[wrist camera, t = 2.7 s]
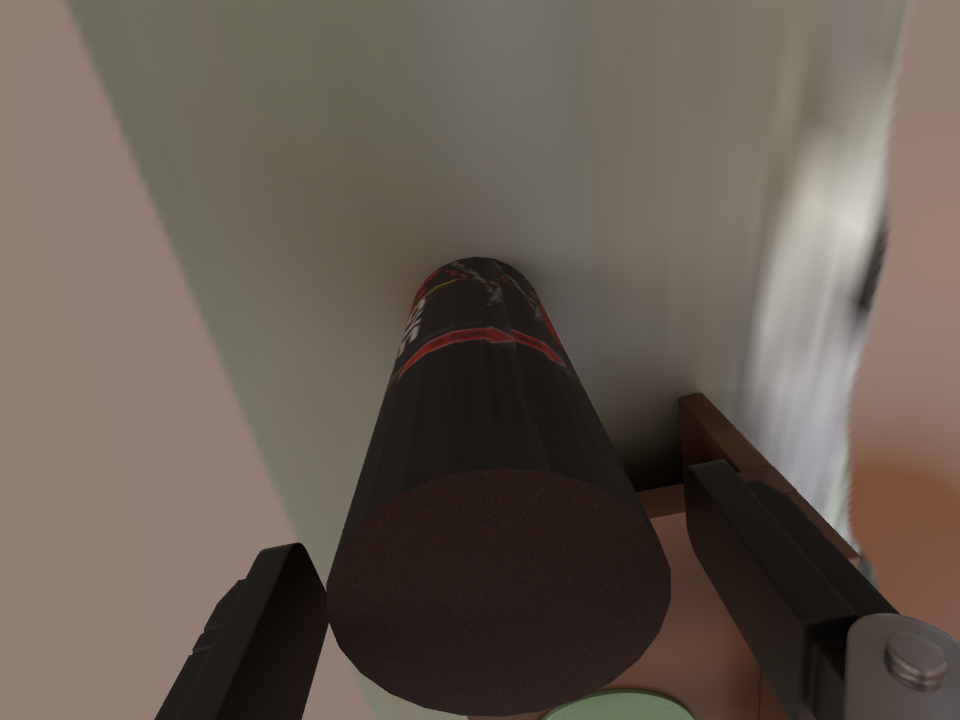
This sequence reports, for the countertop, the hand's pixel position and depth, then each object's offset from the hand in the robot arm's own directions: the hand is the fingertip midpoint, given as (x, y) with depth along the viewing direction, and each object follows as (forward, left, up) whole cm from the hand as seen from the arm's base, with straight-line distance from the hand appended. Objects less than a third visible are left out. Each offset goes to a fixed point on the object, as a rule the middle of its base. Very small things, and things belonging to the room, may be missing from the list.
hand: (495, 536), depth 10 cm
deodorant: (0, 0, -13) cm, 13 cm away
